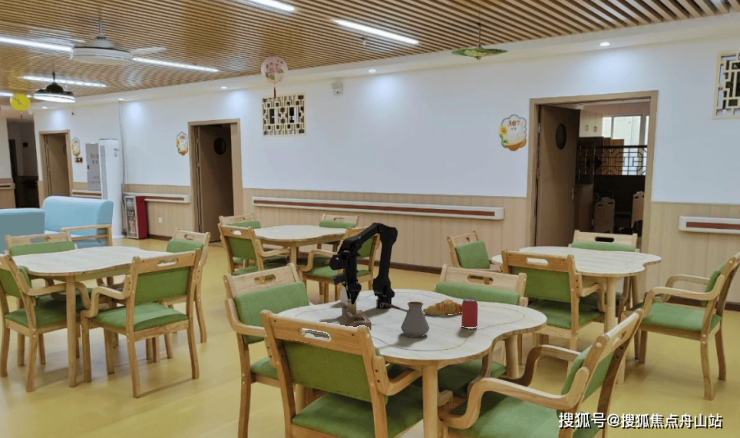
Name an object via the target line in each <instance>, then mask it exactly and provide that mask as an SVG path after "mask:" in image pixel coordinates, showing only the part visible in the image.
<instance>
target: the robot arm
mask: <svg viewBox="0 0 740 438" xmlns="http://www.w3.org/2000/svg"><path fill="white" fill-rule="evenodd" d="M376 235H379V241H380V244H381V251H380V256H379V265H378V274H377V276H376V277H373V278H372V284H371V287H372V291H373V293H374V294H373V295H374V297H376V298H377V299H375V301H376V302H375V303H376V304H375V306H376V307H375V308H376V309H378V310H388V309H392V308H391V307H389V306H386V305H383V304H382V302H384V303H388V304H391V305H393V304H392V303H393V302H392V299H393V298H395V295H396V292H395V291H394V290H393V289H392V282H391V278H390V275H389V274H390V266H391V261H392V260H391V259H392V251H393V246H394V245H395V244H396V241H397V239H398V235H399V231H398V229H397V227H395V226H390V225H386V224H383V223H382V222H372V223H371V225H369V226H367V227H366V228H365V229H364V230H362V231H361V232H359V233H357V234H356V235H352V236H349V237H347V238H344V239H343V240H342V243H341V245H340V247H339V248H338V251H337V254H332V255H331V256H332V257H331V258H330V259H329V262H328V263H329V268H330V269H331V270H332V271H339V270H340V271H341V270H342V272H340V273H337V274H334V275H332V276H331V278H330V279H331V280H332V283H333V284H334V286H338V285H339V284H341V285H342V286H343V288H344V287H345V290H346V294H347V298H348V300H350V299H351V304H352V305H354V303H355V301H356V299H357V297H358V295H359V296H360V292H361V291H362V287H363V286H362V284H361V283H360V282H359V278H358V273H359V270H358V257H359V258H360V257H361V253H360V252H359V251H360V250H361V249H362V247H363V245H364V244H365V243H366V242H367V241H369V240H370V239H371V238H373V237H374V236H376ZM380 304H381V305H380ZM380 306H381V307H380ZM382 306H383V307H382Z"/></svg>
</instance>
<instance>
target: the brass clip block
mask: <svg viewBox="0 0 740 438" xmlns="http://www.w3.org/2000/svg"><path fill="white" fill-rule="evenodd" d="M345 306H346V307H347V309H348V310H349V312H350V313H356V310H357V303H356V301H355V303H354V305H352V304H351V300H346V303H345Z"/></svg>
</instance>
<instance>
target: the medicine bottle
mask: <svg viewBox="0 0 740 438" xmlns="http://www.w3.org/2000/svg"><path fill="white" fill-rule="evenodd" d="M339 292H340V297H339V298H340V304H346V300H348V298H347V294H346V290H345V287H344V286H343V289H341V290H340V291H339ZM350 300H351V299H350ZM359 302H360V294H359V295H358V297H357V299H356V304H357V303H359Z"/></svg>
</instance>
